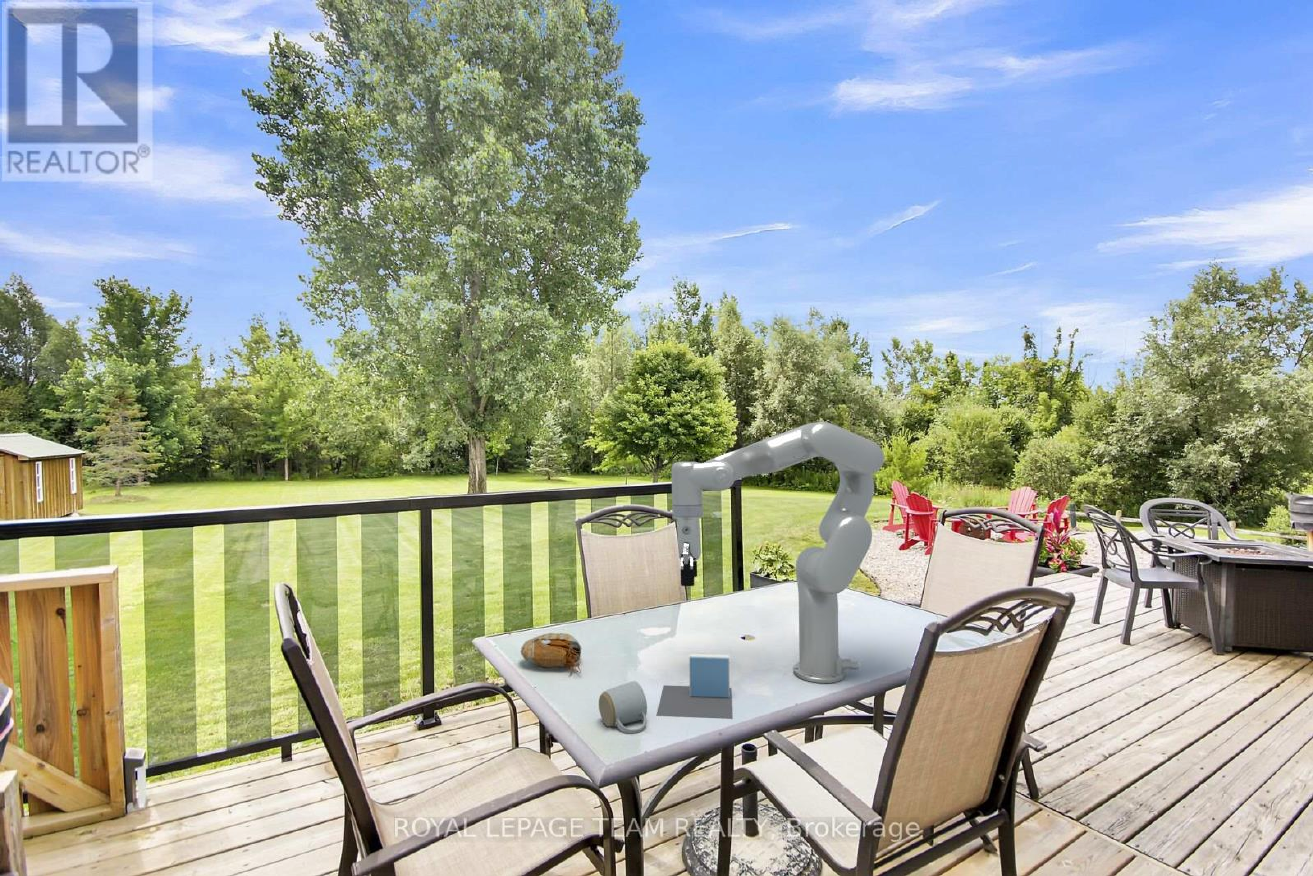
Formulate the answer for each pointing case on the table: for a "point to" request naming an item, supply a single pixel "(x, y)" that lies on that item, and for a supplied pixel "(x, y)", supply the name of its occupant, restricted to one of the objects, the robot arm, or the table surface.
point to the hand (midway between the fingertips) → (689, 581)
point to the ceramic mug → (623, 706)
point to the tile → (709, 675)
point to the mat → (693, 704)
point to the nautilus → (553, 650)
